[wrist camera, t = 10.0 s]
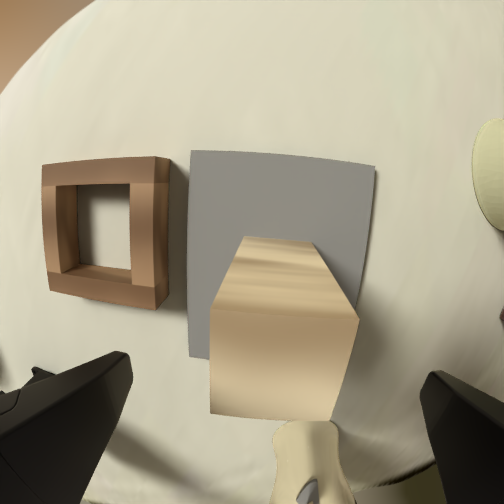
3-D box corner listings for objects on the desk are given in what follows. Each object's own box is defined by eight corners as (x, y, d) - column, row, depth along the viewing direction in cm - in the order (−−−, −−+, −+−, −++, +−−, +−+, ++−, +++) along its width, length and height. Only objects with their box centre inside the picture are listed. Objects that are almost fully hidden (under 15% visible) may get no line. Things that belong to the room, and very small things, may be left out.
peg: (303, 303, 18) (329, 420, 8) (239, 298, 18) (210, 413, 8) (311, 241, 17) (359, 319, 7) (244, 236, 17) (210, 308, 7)
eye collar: (168, 294, 19) (155, 310, 17) (68, 279, 19) (49, 290, 17) (170, 159, 17) (155, 156, 14) (63, 164, 17) (42, 164, 15)
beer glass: (357, 429, 21) (390, 565, 7) (305, 463, 23) (312, 586, 8) (304, 402, 21) (319, 573, 6) (252, 441, 22) (237, 583, 8)
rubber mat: (339, 363, 20) (340, 367, 19) (191, 352, 20) (189, 356, 19) (371, 166, 16) (374, 166, 15) (193, 151, 17) (191, 150, 16)
